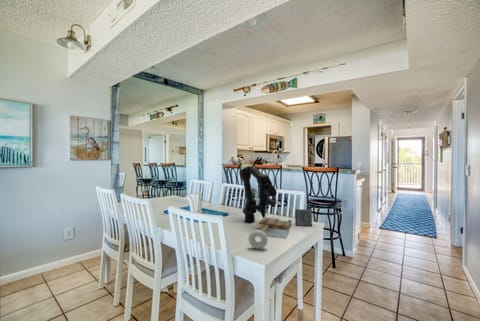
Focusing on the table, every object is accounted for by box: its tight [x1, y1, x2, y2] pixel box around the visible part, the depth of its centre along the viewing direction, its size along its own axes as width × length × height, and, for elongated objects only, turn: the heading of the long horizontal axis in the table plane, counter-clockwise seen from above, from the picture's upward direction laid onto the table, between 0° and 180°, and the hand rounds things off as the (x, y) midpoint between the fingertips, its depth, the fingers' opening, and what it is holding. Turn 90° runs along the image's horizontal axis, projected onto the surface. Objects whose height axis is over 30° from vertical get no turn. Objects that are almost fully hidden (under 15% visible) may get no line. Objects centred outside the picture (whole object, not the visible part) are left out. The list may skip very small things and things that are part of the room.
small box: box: [294, 208, 313, 227], centre depth 161 cm, size 11×6×10 cm, turn 84°
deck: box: [258, 217, 292, 231], centre depth 159 cm, size 20×14×3 cm
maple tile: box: [255, 224, 269, 231], centre depth 151 cm, size 6×8×2 cm
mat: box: [252, 227, 290, 239], centre depth 145 cm, size 22×14×1 cm, turn 69°
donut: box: [248, 229, 269, 250], centre depth 120 cm, size 10×4×10 cm, turn 80°
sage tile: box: [278, 217, 291, 224], centre depth 158 cm, size 6×8×2 cm
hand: (263, 217), depth 153 cm, fingers closed
